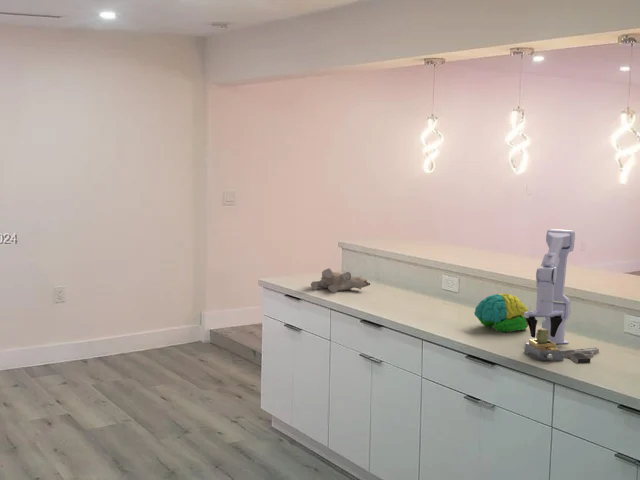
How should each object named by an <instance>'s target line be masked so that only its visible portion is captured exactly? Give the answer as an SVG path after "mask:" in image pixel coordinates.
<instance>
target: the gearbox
mask: <svg viewBox="0 0 640 480" xmlns="http://www.w3.org/2000/svg"><path fill="white" fill-rule="evenodd" d="M564 351H565V350H564V349H562V348H560V347H558V346H557V344H556V343H554V342H552V341H550V340H549V339H548V343H543V344H539V343H537V339H536V338H530V339H528V342H525V343H524V353H526V354H527V355H528V356H531V357H532V358H534V359H535V360H537V361H538V362H548V361H549V362H550V361H552V362H553V361H564V358H563V356H564Z"/></svg>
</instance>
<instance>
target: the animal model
mask: <svg viewBox="0 0 640 480" xmlns="http://www.w3.org/2000/svg"><path fill="white" fill-rule="evenodd" d="M370 285H371V283H370V282H369V281H368V280H367V279H366V278H364V277H363V276H362V275H360V276H353V275H352V273H351V272H350V271H345V272H343V273H340V272H336V271H335V272H334V270H332V269H331V268H327V269H323V271H322V272H321V278H320V280H318V281H317V280H316V281H312V282H311V283H310V286H311V288H312V289H313V290H317V289H319V288H320V289H321V288H322V289H327V290H328V291H330V293H333V294H336V293H338V291H339V292H344V291H348V290H353V289H359V290H362V288H365V287H366V288H367V287H369V286H370Z"/></svg>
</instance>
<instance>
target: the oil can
mask: <svg viewBox="0 0 640 480" xmlns="http://www.w3.org/2000/svg"><path fill="white" fill-rule="evenodd" d="M536 330H537V331H536V333H537V343H539V344H543V343H548V336H549V334H548V330H547V329H542V328H538V329H536Z"/></svg>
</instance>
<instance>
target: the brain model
mask: <svg viewBox="0 0 640 480" xmlns="http://www.w3.org/2000/svg"><path fill="white" fill-rule="evenodd" d="M528 311H529V309H528V308H527V306H526V305H525V303H523V302H522V301H521V300H520V298H519V297H518V296H515V295H513V294H509V293H497V294H491V295H489V296H487V297H485V298H483V300H480V302H478V304H477V305H476V307H475V309H474V316H475V317H476V318H477V319H478V320H479V322H480V324H481V325H482V326H484V327H486V328H490V329H491V328H493V329H495V331H497V332H499V333H500V332H501V333H509V332H516V331H522V330H526V329H527V328H529V325H528V323H527V321H526V318H525V317H524V312H528Z"/></svg>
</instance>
